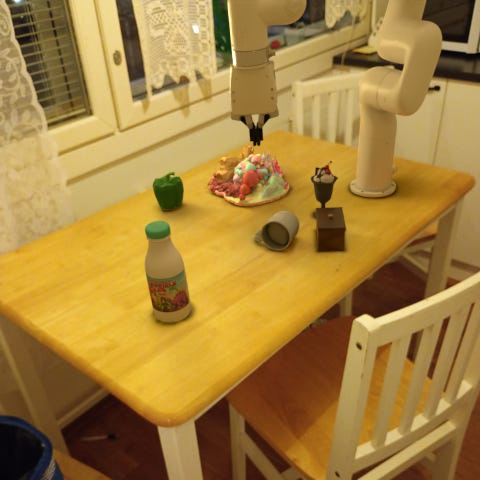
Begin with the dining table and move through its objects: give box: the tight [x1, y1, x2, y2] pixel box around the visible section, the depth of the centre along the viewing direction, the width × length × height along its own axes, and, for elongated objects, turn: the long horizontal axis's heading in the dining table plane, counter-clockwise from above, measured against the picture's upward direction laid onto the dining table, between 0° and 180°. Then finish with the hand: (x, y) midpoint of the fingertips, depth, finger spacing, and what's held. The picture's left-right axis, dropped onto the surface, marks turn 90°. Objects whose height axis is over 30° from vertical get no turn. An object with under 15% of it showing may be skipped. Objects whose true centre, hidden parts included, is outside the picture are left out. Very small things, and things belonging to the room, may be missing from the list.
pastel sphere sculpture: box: [206, 144, 290, 207], centre depth 153 cm, size 25×24×9 cm
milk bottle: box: [144, 220, 192, 323], centre depth 103 cm, size 8×8×20 cm
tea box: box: [315, 206, 347, 252], centre depth 125 cm, size 6×10×7 cm, turn 176°
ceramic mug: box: [253, 209, 300, 252], centre depth 126 cm, size 11×8×8 cm
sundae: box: [310, 160, 339, 218], centre depth 134 cm, size 7×7×15 cm
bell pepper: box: [152, 171, 185, 211], centre depth 145 cm, size 8×8×10 cm
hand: (256, 143), depth 121 cm, fingers closed
